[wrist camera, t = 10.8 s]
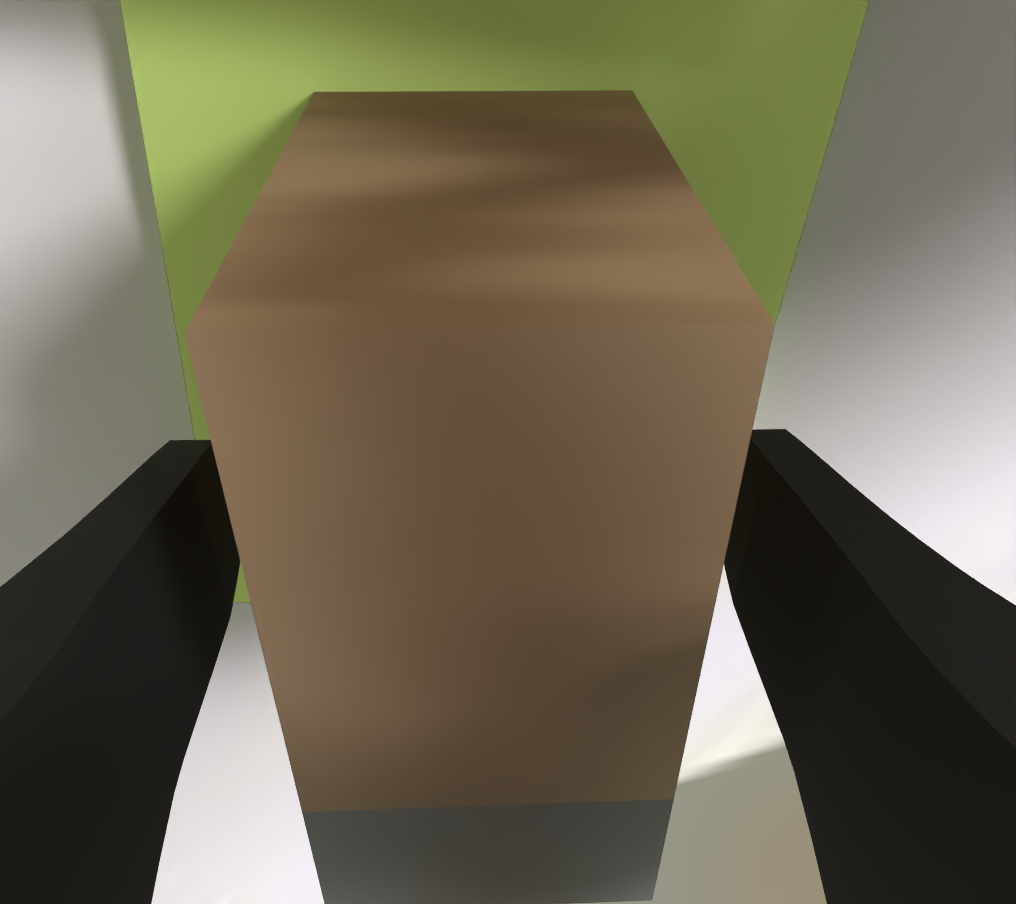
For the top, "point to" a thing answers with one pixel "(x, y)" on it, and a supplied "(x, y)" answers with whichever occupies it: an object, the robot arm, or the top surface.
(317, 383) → the box
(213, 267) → the mat
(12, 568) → the top surface
